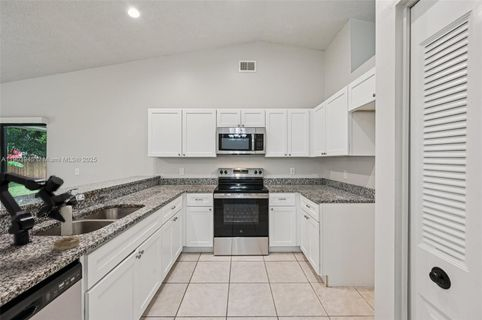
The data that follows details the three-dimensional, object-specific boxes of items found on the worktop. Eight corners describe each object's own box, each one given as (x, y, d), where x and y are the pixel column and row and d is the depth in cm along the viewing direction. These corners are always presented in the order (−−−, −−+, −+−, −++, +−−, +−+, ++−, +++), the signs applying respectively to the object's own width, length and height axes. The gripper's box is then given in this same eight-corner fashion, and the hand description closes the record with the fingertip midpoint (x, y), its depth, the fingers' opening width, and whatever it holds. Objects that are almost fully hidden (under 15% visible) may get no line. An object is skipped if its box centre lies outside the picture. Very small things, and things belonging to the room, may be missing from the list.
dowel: (59, 236, 121) (58, 208, 121) (64, 233, 125) (63, 206, 125) (69, 235, 122) (68, 207, 121) (74, 232, 126) (73, 205, 126)
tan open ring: (49, 248, 120) (49, 242, 120) (68, 241, 130) (68, 235, 130) (65, 250, 118) (65, 244, 117) (83, 243, 127) (83, 237, 127)
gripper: (41, 190, 114) (62, 214, 113) (74, 184, 133) (92, 205, 131) (27, 206, 116) (48, 230, 114) (61, 198, 134) (80, 219, 133)
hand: (68, 220), depth 123 cm, fingers closed on dowel, 4 cm apart
